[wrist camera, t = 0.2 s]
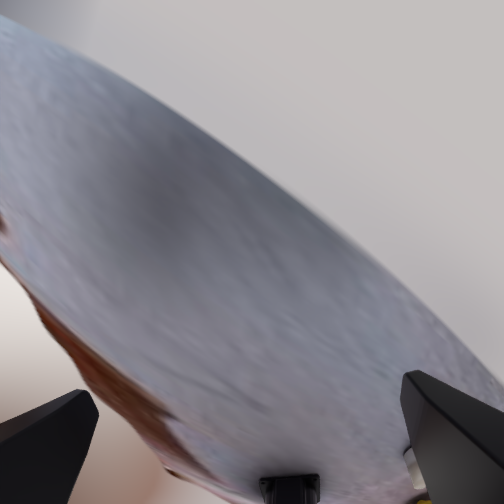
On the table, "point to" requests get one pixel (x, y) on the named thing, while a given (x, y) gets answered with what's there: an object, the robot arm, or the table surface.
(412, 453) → the cream brown-tipped bar
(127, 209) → the table surface
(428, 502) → the lemon
